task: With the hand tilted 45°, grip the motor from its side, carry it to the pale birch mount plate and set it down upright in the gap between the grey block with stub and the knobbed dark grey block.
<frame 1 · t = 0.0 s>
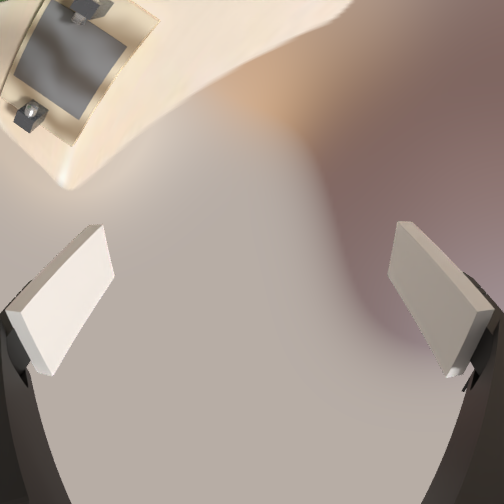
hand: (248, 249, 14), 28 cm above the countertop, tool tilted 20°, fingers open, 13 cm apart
knobbed dark grey block: (42, 106, 33), resting on mount plate
mount plate: (68, 57, 29), on the countertop
grey block with stub: (103, 2, 25), resting on mount plate
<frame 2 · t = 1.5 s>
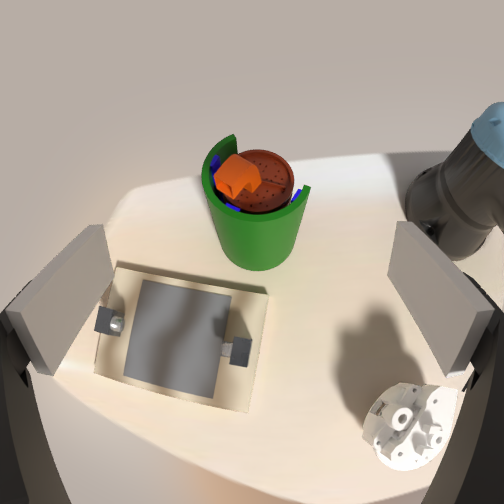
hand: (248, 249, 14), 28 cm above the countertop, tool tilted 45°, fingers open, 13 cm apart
knobbed dark grey block: (119, 324, 40), resting on mount plate
mechanical part: (396, 420, 35), on the countertop
mount plate: (177, 338, 39), on the countertop
grey block with stub: (242, 351, 39), resting on mount plate
motor: (255, 239, 43), on the countertop
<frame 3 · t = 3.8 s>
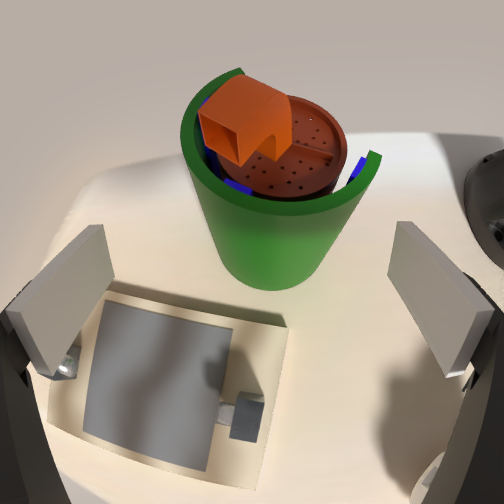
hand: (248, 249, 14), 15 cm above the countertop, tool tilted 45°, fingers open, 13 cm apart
knobbed dark grey block: (77, 360, 26), resting on mount plate
mechanical part: (445, 480, 22), on the countertop
mount plate: (154, 386, 26), on the countertop
grey block with stub: (248, 408, 25), resting on mount plate
motor: (268, 242, 30), on the countertop
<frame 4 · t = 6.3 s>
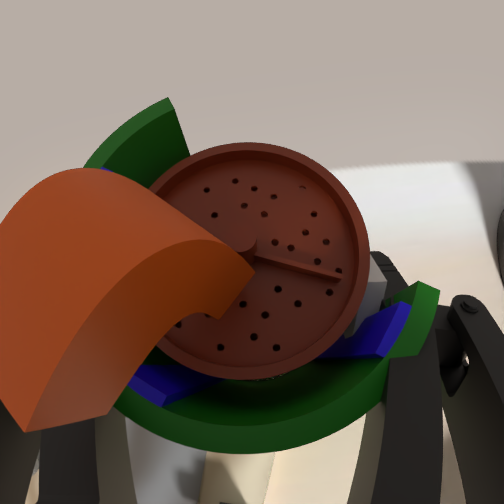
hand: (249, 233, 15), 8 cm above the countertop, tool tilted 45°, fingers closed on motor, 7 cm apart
mount plate: (124, 484, 18), on the countertop
motor: (253, 325, 22), on the countertop, touching gripper
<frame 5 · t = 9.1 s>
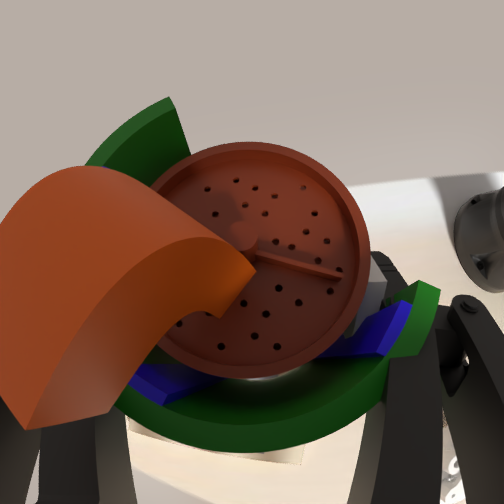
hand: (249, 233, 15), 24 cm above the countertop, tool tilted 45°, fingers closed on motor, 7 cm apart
mechanical part: (441, 454, 31), on the countertop
mount plate: (222, 392, 35), on the countertop
motor: (253, 325, 22), point 15 cm above the countertop, touching gripper
when the fingers open (11 cm above the countertop, at t = 12.2 s): motor drops 2 cm, resting on mount plate.
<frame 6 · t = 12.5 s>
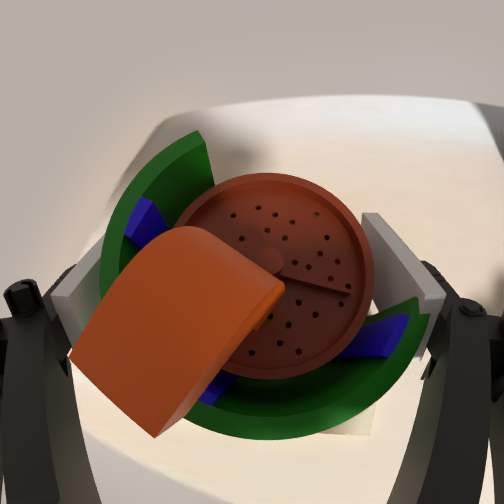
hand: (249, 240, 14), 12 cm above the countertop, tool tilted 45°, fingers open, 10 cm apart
mount plate: (253, 328, 25), on the countertop
motor: (258, 327, 24), point 1 cm above the countertop, touching mount plate
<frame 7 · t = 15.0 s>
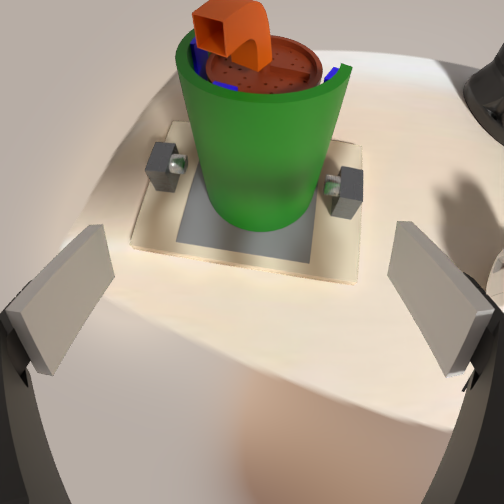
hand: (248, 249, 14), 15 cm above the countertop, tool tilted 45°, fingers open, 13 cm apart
knobbed dark grey block: (172, 183, 32), resting on mount plate
mount plate: (254, 194, 31), on the countertop
grey block with stub: (339, 208, 31), resting on mount plate
motor: (257, 189, 30), point 1 cm above the countertop, touching mount plate
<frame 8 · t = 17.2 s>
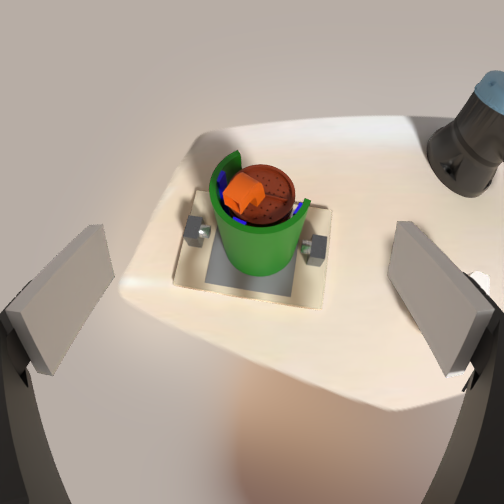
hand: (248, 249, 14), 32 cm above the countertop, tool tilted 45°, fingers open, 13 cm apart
knobbed dark grey block: (199, 239, 48), resting on mount plate
mount plate: (255, 248, 47), on the countertop
grey block with stub: (313, 257, 46), resting on mount plate
motor: (258, 246, 46), point 1 cm above the countertop, touching mount plate
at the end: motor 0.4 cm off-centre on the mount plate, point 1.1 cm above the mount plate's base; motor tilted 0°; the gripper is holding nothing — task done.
